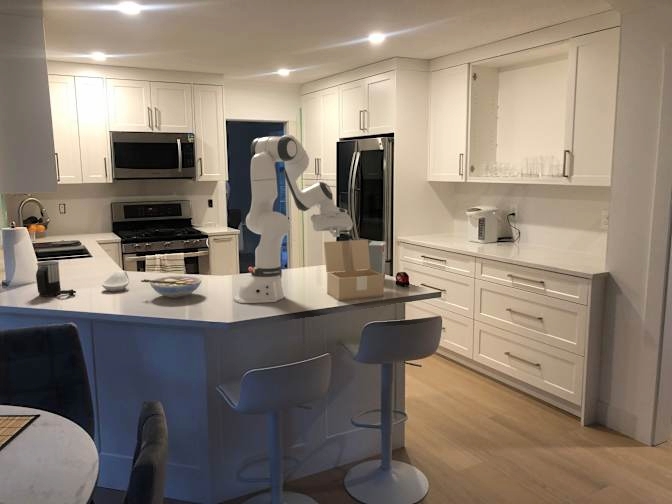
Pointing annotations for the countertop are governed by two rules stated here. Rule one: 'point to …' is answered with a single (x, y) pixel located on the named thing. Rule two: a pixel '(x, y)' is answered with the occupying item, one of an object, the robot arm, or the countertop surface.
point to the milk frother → (49, 279)
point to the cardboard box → (355, 284)
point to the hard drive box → (377, 256)
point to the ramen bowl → (175, 285)
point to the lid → (346, 255)
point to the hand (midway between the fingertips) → (336, 236)
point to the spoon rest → (116, 281)
